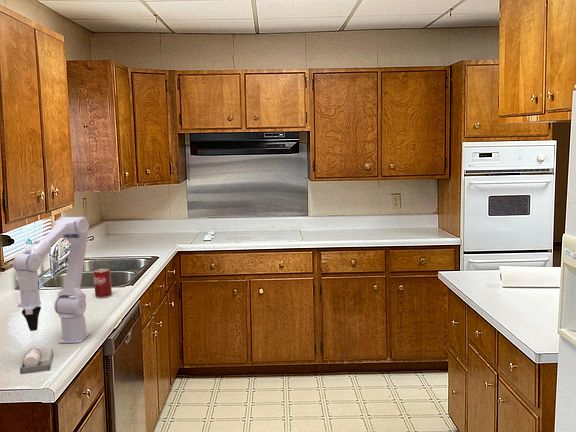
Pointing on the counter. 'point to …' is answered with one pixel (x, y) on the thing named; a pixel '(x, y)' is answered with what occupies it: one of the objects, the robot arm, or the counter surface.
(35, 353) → the pill bottle
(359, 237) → the counter surface
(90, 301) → the counter surface
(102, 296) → the soda can
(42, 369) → the tray
